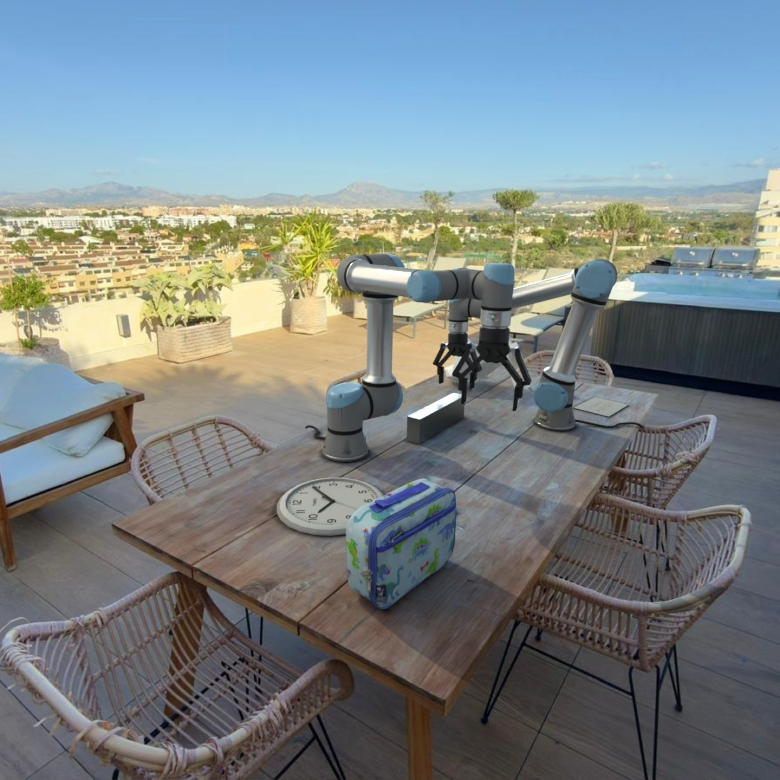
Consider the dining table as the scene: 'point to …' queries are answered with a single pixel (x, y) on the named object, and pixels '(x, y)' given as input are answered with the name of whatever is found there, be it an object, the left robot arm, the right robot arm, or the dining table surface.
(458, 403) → the bar
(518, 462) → the dining table surface
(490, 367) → the white plastic object
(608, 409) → the invitation card
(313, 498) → the wall clock
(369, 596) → the lunch box
